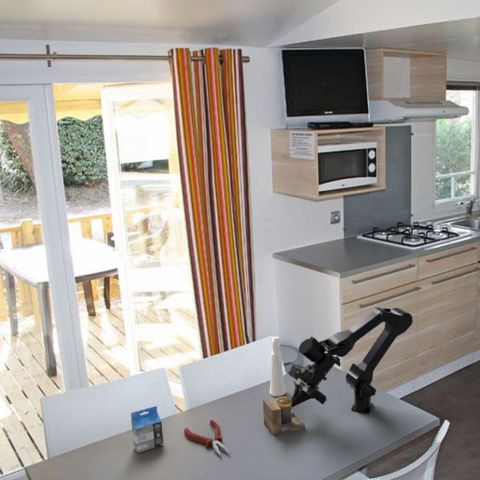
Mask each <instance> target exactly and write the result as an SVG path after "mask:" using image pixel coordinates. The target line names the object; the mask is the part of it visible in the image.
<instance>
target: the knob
mask: <svg viewBox="0 0 480 480" xmlns="http://www.w3.org/2000/svg"><path fill="white" fill-rule="evenodd" d="M274 401H275V403H276V404H277V405H278V406H279V407H280V408H281V427H282V426H287V425H291V424H295V422H294V421H293V420H292V416H291V412H292V406H291V404H292V398H290V397H288V396H278V397H277V398H276V399H275V400H274Z"/></svg>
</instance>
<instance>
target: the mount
mask: <svg viewBox="0 0 480 480" xmlns="http://www.w3.org/2000/svg"><path fill="white" fill-rule="evenodd" d="M262 401H263V402H262V407H263V408H262V409H263V425H264V426H265V427H266V429H267V431H269V433H270V434H271V435H272V436H273V437H275V436H279V435H283V434H287V433H292V432H295V431H301V430H303V429H306V425H305V424H304V423H305V422H304V421H302V420H301V419H300V418H299V416H297V415H296V414H295V411H291V416H292V420H293V421H294V422H295V424H291V425H287V426H282V427H281V408H280V407H279V406H278V405H277V404H276V403H275V400H274V399H273V398H272V397H269V398H265V399H264V398H263V399H262Z"/></svg>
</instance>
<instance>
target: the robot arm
mask: <svg viewBox="0 0 480 480" xmlns="http://www.w3.org/2000/svg"><path fill="white" fill-rule="evenodd" d="M413 322H414V320H413V316H412V314H411V313H409V312H408V311H406V310H403V309H401V308H400V307H394V308H388V307H384V308H383V307H375V308H373V309H372V311H371V312H369V313H368V314H367V315H365V317H362V318H361V319H360V320H359V321H357V322H356V323H355V324H353V325H352V326H350V327H349V328H348V329H346V330H342V331H339V332H336V333H334V334H332V335H331V336H329V337H328V338H326V339H323V340H321V341H319V340H318V339H316V337H314V336H313V335H312V336H311V337H309V338H306V339H305V340H303V341H301V342H300V344H299V347H298V352H299V353H300V354H301V355H302V356H304V358H306V359H307V360H308V361H310V362H311V363H312V364H309V363H308V364H307V365H306V366H303V365H299V364H296V363H292V364H291V367H290V370H289V371H288V372H287V374H288V375H289V376H290V377H291V378H293V379H295V380H296V381H295V380H294V381H293V384H294V392H293V394H292V397H291V400H292V404H291V408H294V407H296V406H298V405H300V404H302V403H304V402H306V401H310V400H311V399H312V400H314V399H315V401H318V403H320V404H321V405H324V404H325V403H326V402H327V396H326V395H325V394H324V393H323V392H322V391H321V390H319V389H320V387H319V385H320V384H321V382H322V381H325V382H326V381H327V380H328V378H327V377H326V376H327V375H328V373H329V372H330V371H331V369H332V368H333V367H334V366H335V365H337V366H338V367H341V366H342V365H341V358H344V357H345V356H347V355H348V354H349V353H350V352H351V351H352V350H353V349H354V346H355V344H356V343H357V342H358V341H360V339H362V338H364V337H365V336H366V335H368V333H370V332H371V331H372V330H374V329H375V328H377V327H378V326H379V325H381V324H382V323H384V328H383V330H382V331H381V333H380V335H379V336H378V337H377V338H376V340H375V341H374V342H373V345H372V346H371V348H370V349H369V351H368V352H367V353H366V354H365V356H364V357H363V359H362V361H361V362H360V363H357V364H356V363H354V362H353V363H352V364H351V366H350V368H349V369H347V371H346V375H345V382H346V384H347V385H348V386H349V387H350V389H352V390H353V391H354V393H353V400H354V401H353V404H352V406H351V411H354V412H360V413H364V414H370V413H371V411H372V409H373V407H374V406H375V405H374V403H372V397H373V396H375V395H376V392H377V389H376V388H375V387H374V386H373V385H371V384H372V382H373V379H374V372H375V369H376V368H377V367H378V365H379V363H380V362H381V361H382V359H383V357H384V356H385V354H387V352H388V350H389V349H390V347H391V346H392V344H393V343H394V341H396V339H397V337H398V336H401V335H402V334H405V333H406V332H407V331H408V330H409V329H410V328H411V326H412V325H413Z"/></svg>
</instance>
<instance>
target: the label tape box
mask: <svg viewBox="0 0 480 480" xmlns="http://www.w3.org/2000/svg"><path fill="white" fill-rule="evenodd" d="M147 412H148V413H147ZM143 413H144V414H143ZM130 417H131V419H130V421H131V422H130V423H131V431H132V440H133V448H134V450H135V451H136V453H137V454H140V453H143V452H145V451H149V450H152V449H155V448H158V447H162V446H164V445H165V444H164V435H163V434H164V432H163V423H162V419H161V417H160V415H159V413H158V406H157V405H155V406H151V407H148V408H144V409H139V410H137V411H132V412H131V413H130Z"/></svg>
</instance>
